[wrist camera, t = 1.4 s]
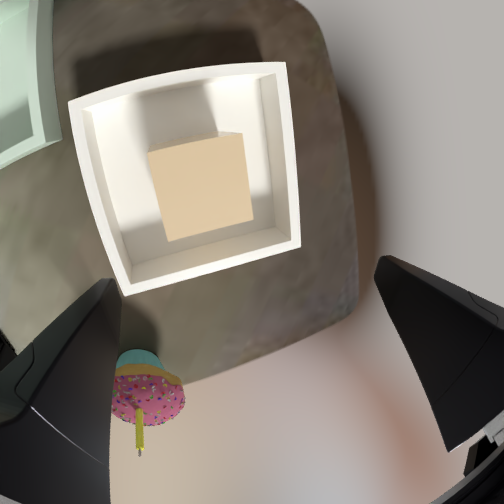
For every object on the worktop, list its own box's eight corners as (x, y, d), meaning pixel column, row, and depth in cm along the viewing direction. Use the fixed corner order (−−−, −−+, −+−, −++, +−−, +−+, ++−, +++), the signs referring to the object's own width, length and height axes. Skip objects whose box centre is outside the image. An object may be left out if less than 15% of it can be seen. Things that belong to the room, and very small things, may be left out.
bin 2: (127, 272, 21) (124, 296, 18) (82, 105, 15) (67, 102, 12) (281, 230, 25) (300, 246, 22) (265, 70, 18) (285, 62, 15)
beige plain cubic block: (163, 210, 20) (168, 241, 15) (149, 145, 17) (146, 153, 12) (227, 194, 21) (253, 219, 16) (217, 130, 18) (242, 133, 13)
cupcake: (87, 348, 23) (80, 452, 13) (157, 324, 25) (175, 435, 15) (128, 393, 27) (137, 481, 17) (190, 374, 29) (216, 465, 19)
